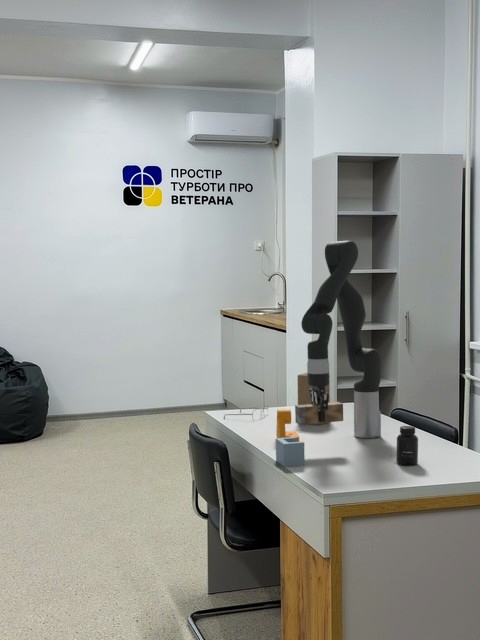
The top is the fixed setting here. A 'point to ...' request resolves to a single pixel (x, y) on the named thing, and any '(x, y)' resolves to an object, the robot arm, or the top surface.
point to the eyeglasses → (249, 414)
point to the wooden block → (307, 391)
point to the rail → (310, 413)
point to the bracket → (283, 419)
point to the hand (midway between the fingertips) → (319, 420)
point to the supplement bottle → (407, 446)
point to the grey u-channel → (290, 452)
